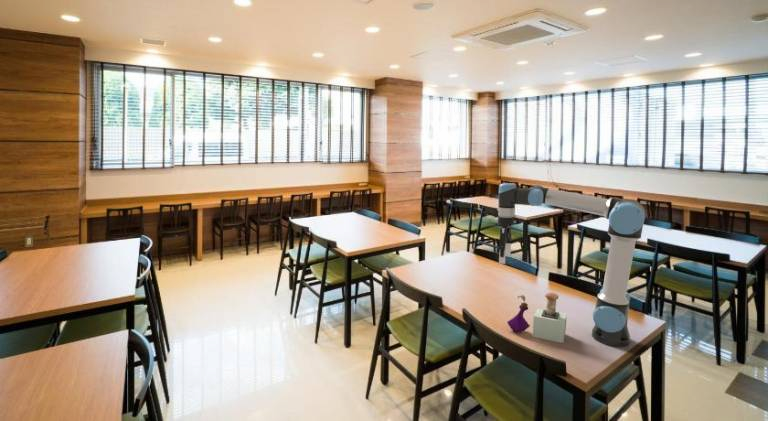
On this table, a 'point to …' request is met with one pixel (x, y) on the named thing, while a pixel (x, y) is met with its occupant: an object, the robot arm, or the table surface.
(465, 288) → the table surface
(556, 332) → the socket block
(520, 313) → the perfume bottle
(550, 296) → the peg
